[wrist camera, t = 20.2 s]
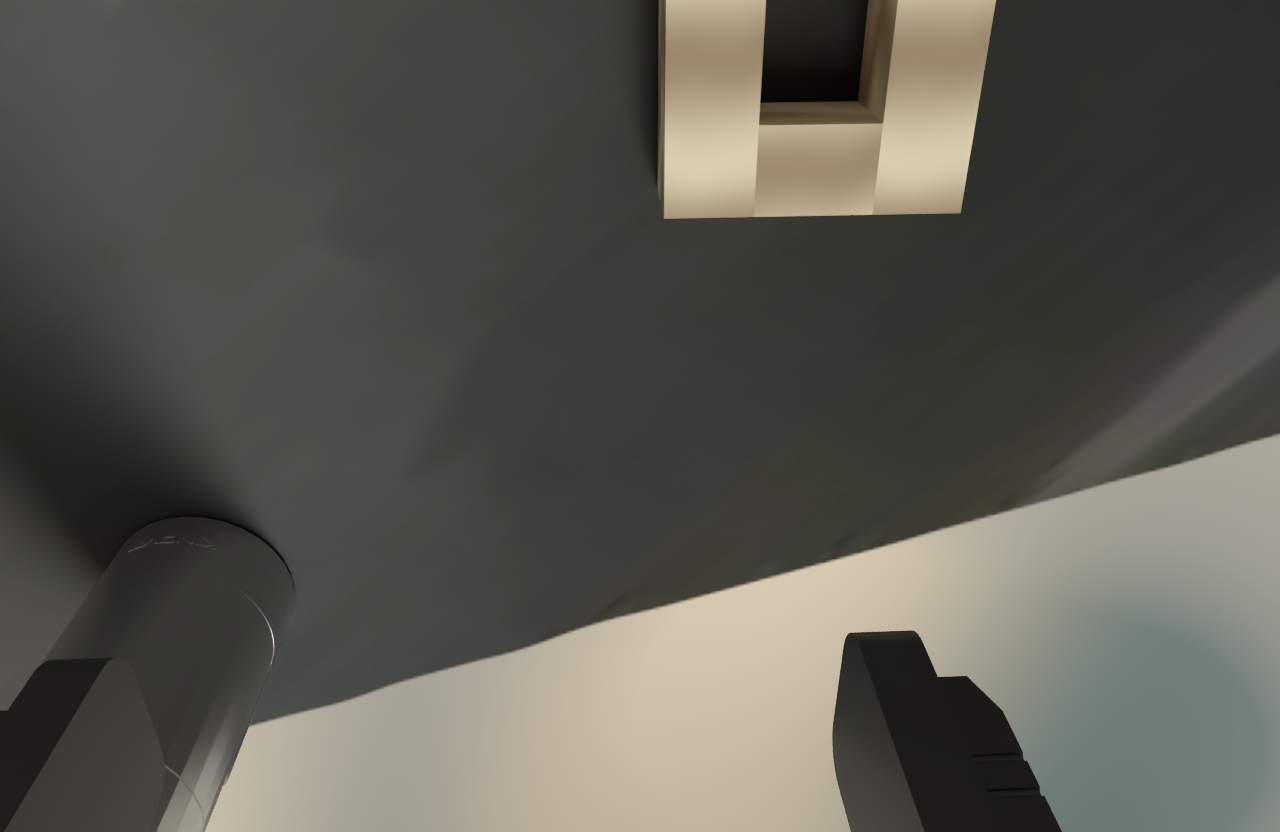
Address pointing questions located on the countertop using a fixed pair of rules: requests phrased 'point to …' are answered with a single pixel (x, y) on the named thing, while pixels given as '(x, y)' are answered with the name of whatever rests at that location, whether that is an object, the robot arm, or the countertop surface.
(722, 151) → the block
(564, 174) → the countertop surface
